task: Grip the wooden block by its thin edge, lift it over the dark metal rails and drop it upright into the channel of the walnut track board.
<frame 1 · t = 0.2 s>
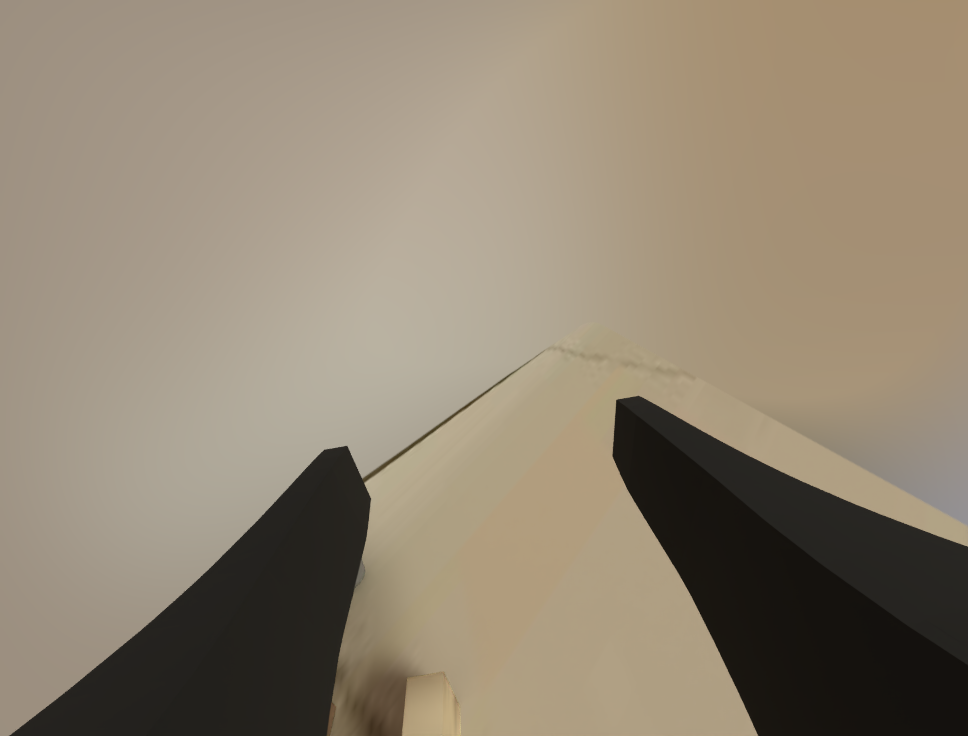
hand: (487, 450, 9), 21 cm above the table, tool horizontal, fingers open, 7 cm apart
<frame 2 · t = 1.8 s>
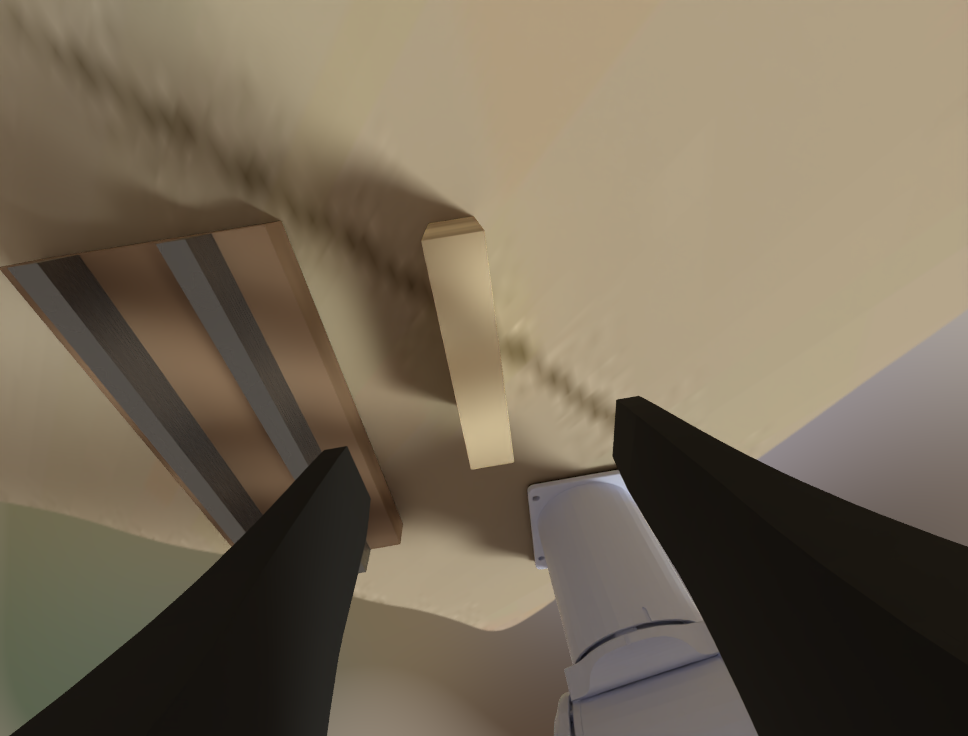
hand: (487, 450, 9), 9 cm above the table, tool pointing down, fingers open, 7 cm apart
track board: (269, 426, 19), on the table
wooden block: (469, 324, 17), on the table
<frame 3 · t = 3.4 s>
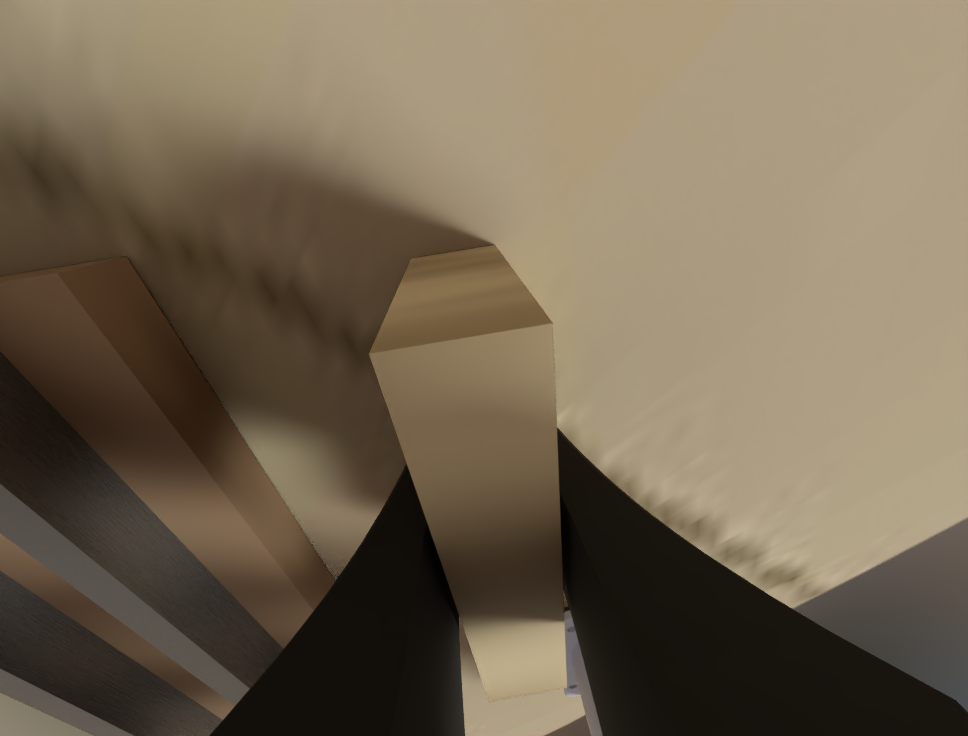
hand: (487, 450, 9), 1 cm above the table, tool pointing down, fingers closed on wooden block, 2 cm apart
track board: (169, 562, 12), on the table
wooden block: (482, 418, 10), on the table, touching gripper
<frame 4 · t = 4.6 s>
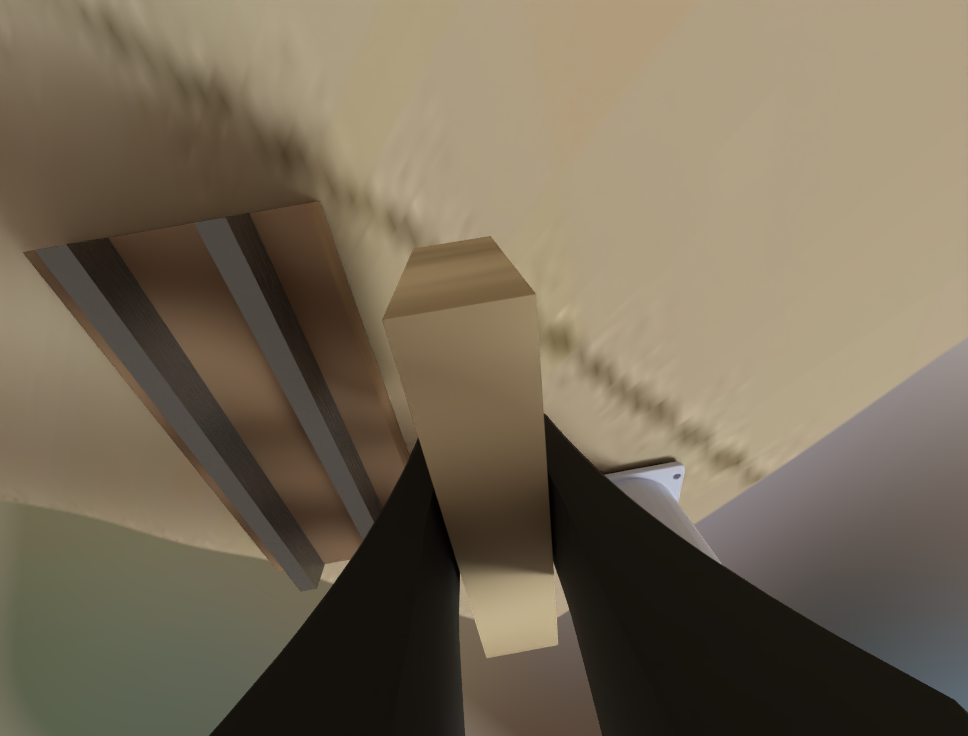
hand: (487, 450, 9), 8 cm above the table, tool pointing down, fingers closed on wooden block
track board: (299, 422, 18), on the table
wooden block: (479, 400, 11), point 6 cm above the table, touching gripper
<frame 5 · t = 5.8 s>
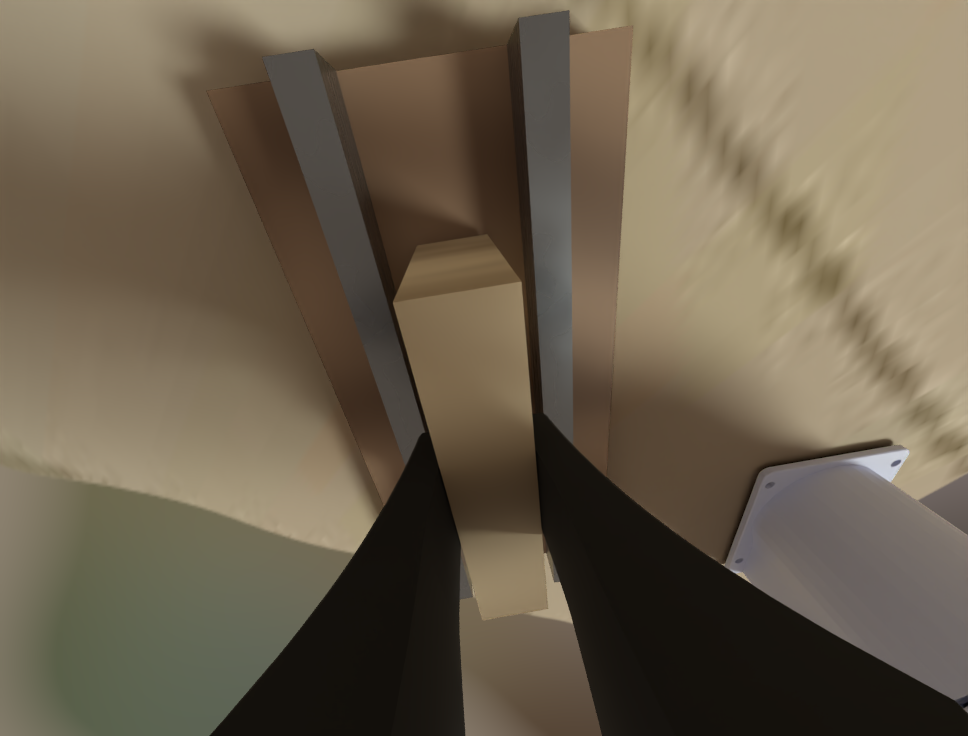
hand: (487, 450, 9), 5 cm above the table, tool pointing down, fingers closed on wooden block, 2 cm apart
track board: (478, 384, 14), on the table
wooden block: (477, 387, 12), point 2 cm above the table, touching gripper
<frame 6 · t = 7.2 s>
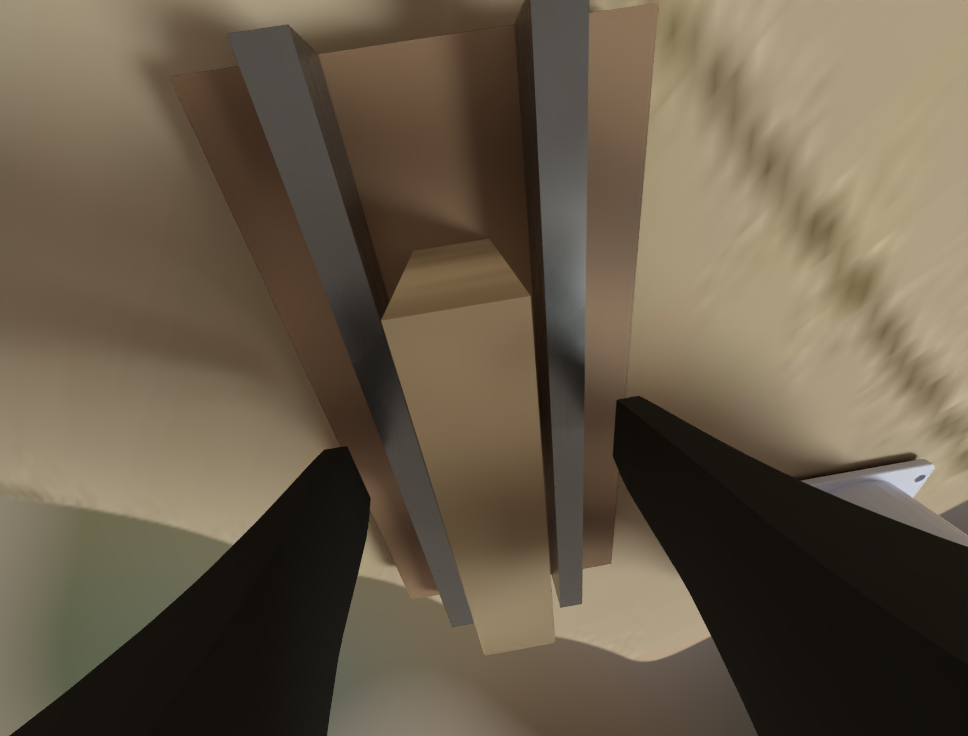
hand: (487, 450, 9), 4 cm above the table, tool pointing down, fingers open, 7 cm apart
track board: (480, 399, 13), on the table
wooden block: (478, 400, 11), point 1 cm above the table, touching track board
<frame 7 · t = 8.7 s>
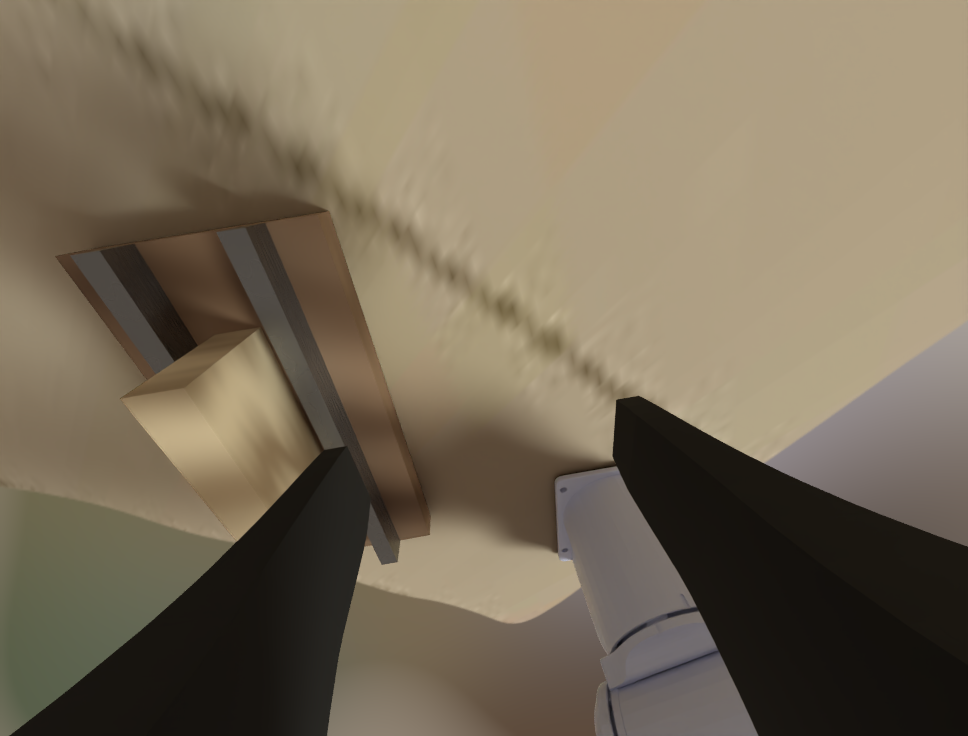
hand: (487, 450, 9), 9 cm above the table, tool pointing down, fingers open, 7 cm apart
track board: (305, 417, 19), on the table
wooden block: (286, 419, 17), point 1 cm above the table, touching track board
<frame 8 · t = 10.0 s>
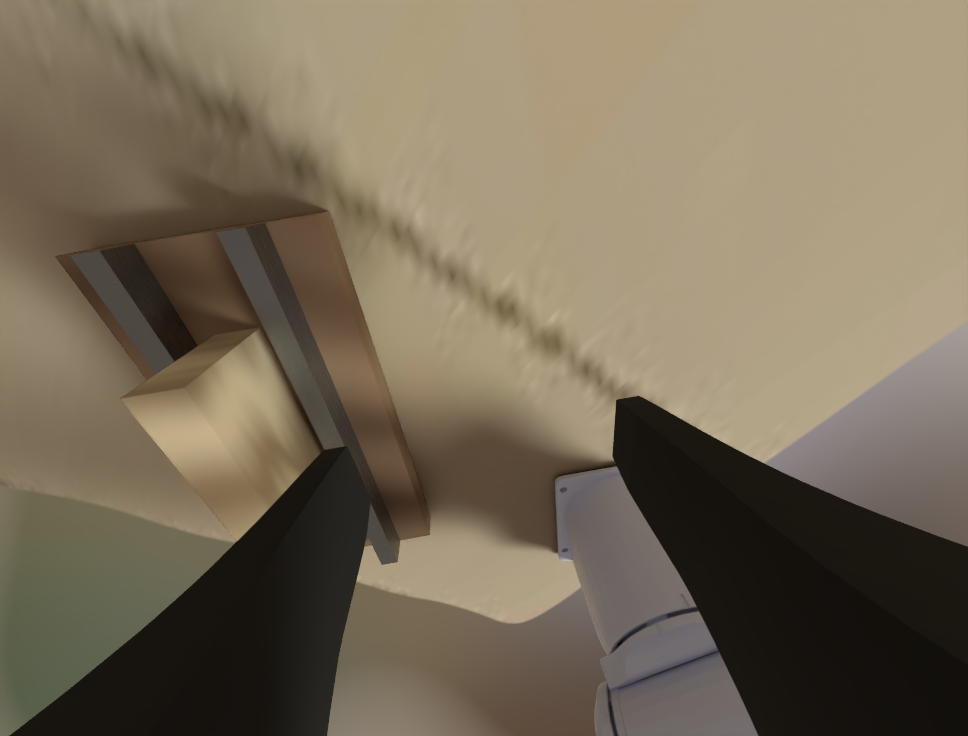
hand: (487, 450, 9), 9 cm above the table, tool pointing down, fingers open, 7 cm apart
track board: (305, 417, 19), on the table
wooden block: (286, 419, 17), point 1 cm above the table, touching track board
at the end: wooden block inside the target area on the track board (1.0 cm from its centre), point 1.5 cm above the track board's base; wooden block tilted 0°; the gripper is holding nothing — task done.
